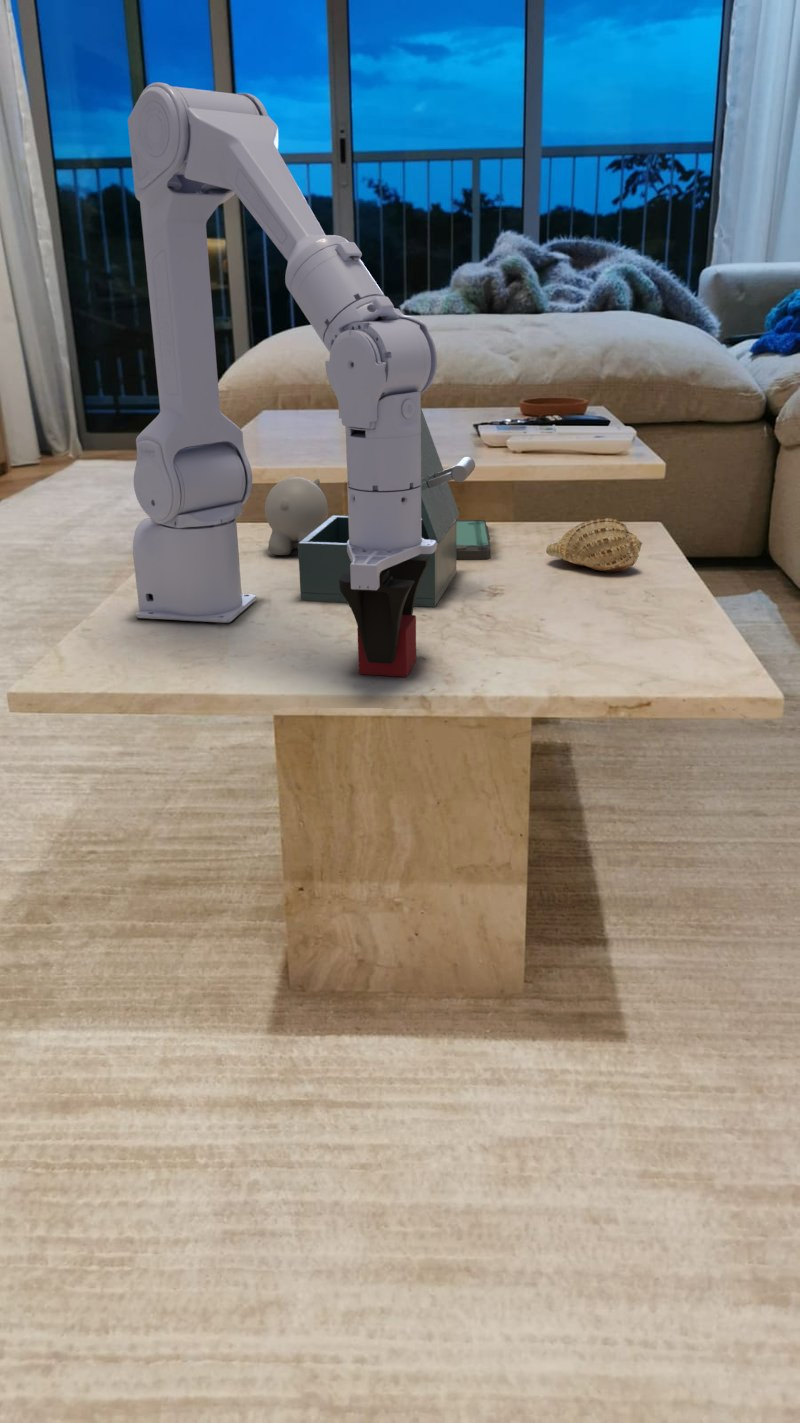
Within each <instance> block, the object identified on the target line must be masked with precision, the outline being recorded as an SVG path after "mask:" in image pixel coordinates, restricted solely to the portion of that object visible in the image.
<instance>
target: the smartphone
mask: <svg viewBox="0 0 800 1423" xmlns="http://www.w3.org/2000/svg"><path fill="white" fill-rule="evenodd" d="M456 520H457V539H456V560H489V559H491V558H492V557H491V556H492V555H491V553H492V552H491V551H492V549H491V544H490V541H491V537H490V536H491V535H490V531H489V526H488V525H487V521H486V520H484V519H456Z"/></svg>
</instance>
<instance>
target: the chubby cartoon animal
mask: <svg viewBox="0 0 800 1423" xmlns="http://www.w3.org/2000/svg"><path fill="white" fill-rule="evenodd" d="M320 486H321V482H320V479H319V478H316V479H315V480H314V481H312V480H309V479H308V478H304V477H298V476H294V477H293V476H292V477H288V478H285V479H282V480H280V481H278V482H277V483H276V484H275V485H273V487H272V488H271V489H270V491H269V492H268V494H267V497H266V499H265V503H264V514H265V519H266V521H267V523H268V524H267V525H269V527H270V528H271V534H270V537H269V541H268V551H269V553H270V554H271V555H275V556H287V555H290V554H291V552H292V550H295V549H297V550H298V543H299V542H300V541H302V540H303V539H304V538H305V537H307V536H308V535H309V534H310V533H311V532H313V531H314V530H315V529H316V528H318V527H319V526H320V525H321V524H323V523H324V522H325V521H326V520H328V515H329V506H328V501H327V498H326V495H325V493H324V492H323V490H322V489H321V488H320Z"/></svg>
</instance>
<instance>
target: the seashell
mask: <svg viewBox="0 0 800 1423" xmlns="http://www.w3.org/2000/svg"><path fill="white" fill-rule="evenodd" d="M642 545H643V542H642V541H641V540H640V539H639V538H638V536H637V535H636V534H634V533H633V532H631V531H629V527H627V524H624V523H623V522H622V521H620V520H618V519H616V518H610V517H606V518H605V517H601V518H594V519H590V520H587V521H585V522H584V521H583V522H582V523H580V524H577V525H576V526H574V527H573V528H571V529H570V530H568V531H567V532H566V533H565V534H564V535H563V536H562V537H561V539H560V540H558V541H557V542H555V543H549V544H547V546H546V549H545V550H546V551H545V552H546V554H547V555H548V556H550V557H554V558H555V557H556V558H560V559H562V560H563V561H567V562H569V563H572V564H575V565H578V566H582V567H587V568H589V569H592V570H596V571H600V572H604V573H614V572H615V573H616V572H620V571H623V570H624V571H625V570H626V569H629V568H631V567H632V566H633V565H634V564H636V562H637V561H638V560H639V556H640V555H639V553H640V552H641V547H642Z"/></svg>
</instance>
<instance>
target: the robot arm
mask: <svg viewBox="0 0 800 1423" xmlns="http://www.w3.org/2000/svg"><path fill="white" fill-rule="evenodd" d="M127 127H128V128H127V129H128V137H129V146H130V147H129V149H130V157H131V158H130V159H131V168H132V176H133V177H132V178H133V186H134V197H135V199H136V200H137V201H138V202H139V205H140V206H139V207H140V217H141V228H142V237H143V247H144V249H143V250H144V257H145V258H144V260H145V266H146V280H147V288H148V299H149V308H150V320H151V331H152V342H153V350H154V359H155V360H154V361H155V371H156V381H157V391H158V402H159V413H158V415H156V417H155V418H154V419H153V420H152V421H151V422H150V423H149V424H148V425H147V426H146V427H145V428H144V429H142V431H141V432H140V433H139V434H138V435H137V437H136V439H135V446H136V463H135V467H134V472H133V489H134V493H135V497H136V500H137V502H138V504H139V506H140V507H141V509H142V510H143V511H144V513H145V514H146V515H147V518H143V519H142V520H140V522H139V523H138V525H137V526H136V528H135V531H134V535H133V540H132V542H133V543H132V558H133V559H132V560H133V565H134V576H135V584H136V591H137V602H138V603H137V604H138V611H137V612H136V613H135V617H136V618H137V619H152V620H171V621H173V620H174V621H187V622H203V623H205V622H206V623H207V622H208V623H226V624H227V623H231V622H232V621H233V620H234V619H236V618H237V617H238V616H239V615H240V614H242V613H243V612H244V611H245V610H246V609H247V608H249V607H250V606H251V605H252V604H253V603H254V602H255V601H257V599H258V598H257V597H258V596H257V595H256V594H248V593H242V580H241V579H242V578H241V567H240V566H241V565H240V552H239V539H238V525H237V524H238V523H237V517H239V516H243V506H244V505H245V504H246V503H247V502H248V500H249V498H250V497H251V494H252V490H253V471H252V467H251V463H250V461H249V459H248V456H247V453H246V450H245V444H244V433H243V432H244V431H243V430H242V429H241V428H240V427H239V426H238V425H236V424H235V423H234V422H233V421H232V420H230V418H228V417H227V416H226V415H225V414H224V413H222V411H221V404H220V403H221V402H220V392H219V391H220V390H219V377H218V367H217V366H218V364H217V352H216V351H217V350H216V339H215V325H214V313H213V301H212V300H213V299H212V288H211V287H212V286H211V274H210V272H211V271H210V260H209V246H208V235H207V223H208V221H209V219H210V218H211V216H212V215H213V214H214V212H215V211H216V210H217V208H218V207H219V206H220V205H222V204H224V203H226V202H227V201H229V200H230V199H231V198H232V197H233V196H235V195H236V196H237V198H238V199H239V200H240V202H241V203H242V204H243V205H244V207H245V208H246V210H247V211H248V212H249V213H250V214H251V216H252V217H253V218H254V220H255V222H257V224H258V225H259V226H260V227H261V229H262V230H263V231H264V233H265V234H266V235H267V236H268V238H269V240H271V242H272V243H273V244H274V246H275V247H276V248H277V250H278V251H279V252H280V254H281V255H282V256H283V258H284V259H285V260H286V261H287V264H286V265H287V266H286V269H285V275H284V276H285V278H284V280H285V281H284V282H285V286H286V289H287V290H288V291H289V293H290V294H291V296H292V297H293V299H294V300H295V303H296V304H297V305H298V307H299V309H300V310H301V312H302V313H303V314H304V316H305V318H306V319H307V321H308V322H309V323H310V325H311V327H312V328H313V330H314V331H315V333H316V335H317V336H318V338H319V339H320V341H321V342H322V344H323V345H324V346H325V348H326V350H327V351H328V353H329V359H328V360H325V362H324V364H325V372H326V377H327V380H328V382H329V385H330V388H331V390H332V391H333V394H335V398H336V400H337V406H338V418H339V419H341V424H342V426H344V427H345V450H346V480H347V486H346V487H347V489H346V490H347V513H348V514H347V516H348V519H349V540H348V541H347V552H348V555H349V558H350V560H351V564H350V573H345V574H344V575H343V576H342V577H341V578H340V579H339V587H340V591H341V593H342V594H343V596H344V597H345V599H346V600H347V602H348V603H347V604H348V606H349V607H350V610H351V612H352V615H353V616H354V619H355V623H356V626H357V628H358V629H359V633H360V637H361V641H362V645H363V648H364V652H365V655H366V658H367V661H368V662H372V663H389V664H391V663H393V661H394V659H395V655H396V651H397V646H398V638H399V629H400V622H401V617H402V615H413V614H414V608H415V606H414V603H415V598H416V594H417V591H418V587H419V584H420V581H421V579H422V576H423V574H424V571H425V569H426V567H427V565H428V563H429V561H430V556H429V555H428V554H432V553H434V552H435V550H436V549H437V542H436V541H435V540H426V539H423V538H422V537H421V409H422V400H421V399H422V398H421V396H422V394H423V393H425V392H426V391H427V390H429V388H430V386H431V384H432V383H433V381H434V378H435V375H436V371H437V366H438V365H437V363H438V355H437V348H436V345H435V342H434V340H433V337H432V335H431V334H430V331H429V328H428V326H427V324H426V323H425V322H424V321H423V320H421V319H420V318H418V317H415V316H411V315H405V314H404V313H402V312H401V310H400V309H399V308H395V307H394V306H395V305H394V304H393V302H392V301H391V299H390V298H389V297H388V296H386V295H385V294H384V292H383V290H382V289H381V288H380V286H379V284H377V281H376V280H375V278H374V277H373V276H372V274H371V273H370V271H369V270H368V269H367V267H366V266H365V263H364V262H363V260H361V258H362V256H363V253H362V251H361V250H360V248H359V247H358V246H357V244H356V242H354V241H348V240H347V238H345V237H343V236H340V235H335V234H333V235H332V234H326V233H325V231H324V230H323V228H322V226H321V224H320V222H319V221H318V219H317V217H316V215H315V214H314V212H313V210H312V209H311V207H310V205H309V203H308V201H307V200H306V198H305V196H304V194H303V192H302V190H301V189H300V187H299V185H298V184H297V182H296V179H294V177H293V175H292V173H291V171H290V170H289V168H288V166H287V164H286V162H285V160H284V158H283V157H282V155H281V154H280V152H279V150H278V149H279V127H278V125H277V124H276V122H275V121H274V120H273V119H272V118H271V117H270V116H269V115H268V112H267V110H266V107H265V106H264V104H263V103H262V101H261V100H260V99H259V98H258V97H256V96H255V95H253V94H252V93H247V92H238V93H230V92H221V91H215V90H214V91H213V90H206V89H197V88H189V87H181V86H180V87H179V86H172V85H169V84H168V83H165V82H158V81H157V82H152V83H150V84H148V85H146V87H145V88H144V89H143V91H141V93H140V95H139V97H138V99H137V101H136V102H135V105H134V107H133V109H132V110H131V113H130V114H129V116H128V118H127Z"/></svg>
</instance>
